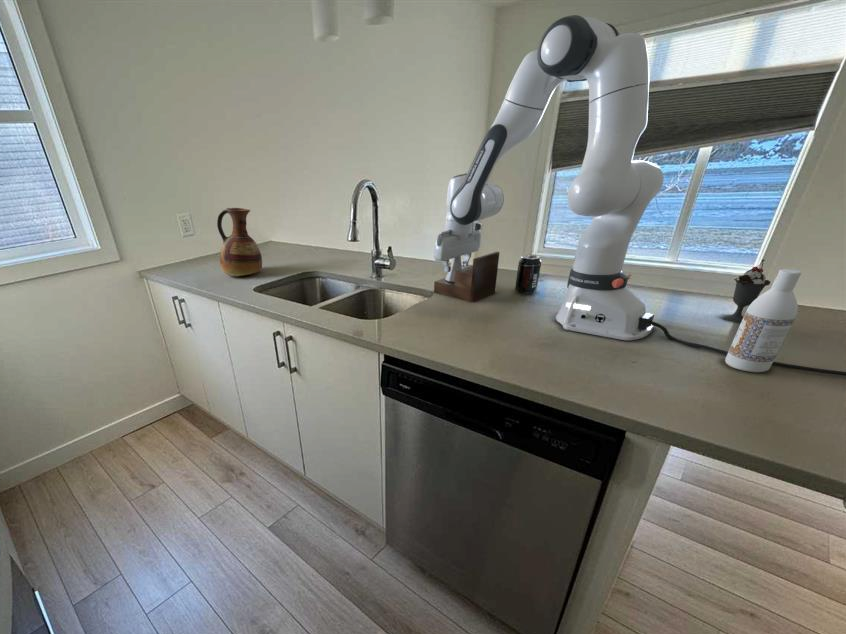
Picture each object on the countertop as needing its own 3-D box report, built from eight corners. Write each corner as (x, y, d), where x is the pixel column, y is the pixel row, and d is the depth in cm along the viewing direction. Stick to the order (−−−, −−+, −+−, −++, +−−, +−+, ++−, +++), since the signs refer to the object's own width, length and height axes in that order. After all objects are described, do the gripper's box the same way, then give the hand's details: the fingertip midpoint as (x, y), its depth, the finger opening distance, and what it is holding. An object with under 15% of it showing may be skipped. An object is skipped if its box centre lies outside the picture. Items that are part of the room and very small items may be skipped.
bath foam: (724, 355, 89) (763, 265, 79) (767, 363, 85) (815, 268, 75) (723, 368, 85) (765, 273, 75) (769, 376, 81) (820, 277, 71)
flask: (463, 276, 146) (466, 248, 141) (467, 281, 140) (470, 252, 135) (443, 277, 147) (445, 249, 142) (446, 283, 141) (448, 253, 136)
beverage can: (539, 294, 134) (546, 257, 128) (518, 296, 135) (524, 259, 129) (531, 288, 140) (537, 253, 134) (511, 290, 141) (516, 255, 135)
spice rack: (494, 293, 139) (499, 251, 132) (472, 301, 133) (476, 259, 127) (455, 284, 152) (458, 246, 145) (433, 292, 146) (435, 252, 139)
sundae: (747, 315, 106) (772, 257, 99) (757, 324, 101) (784, 264, 94) (715, 313, 109) (737, 257, 102) (723, 322, 104) (747, 263, 97)
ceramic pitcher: (260, 277, 186) (248, 208, 171) (218, 281, 187) (202, 212, 172) (267, 267, 203) (256, 203, 188) (228, 271, 204) (214, 207, 189)
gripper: (445, 233, 128) (443, 276, 134) (485, 223, 137) (481, 264, 144) (430, 232, 132) (429, 273, 139) (470, 222, 142) (467, 262, 149)
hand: (456, 269), depth 142 cm, fingers open, 8 cm apart
